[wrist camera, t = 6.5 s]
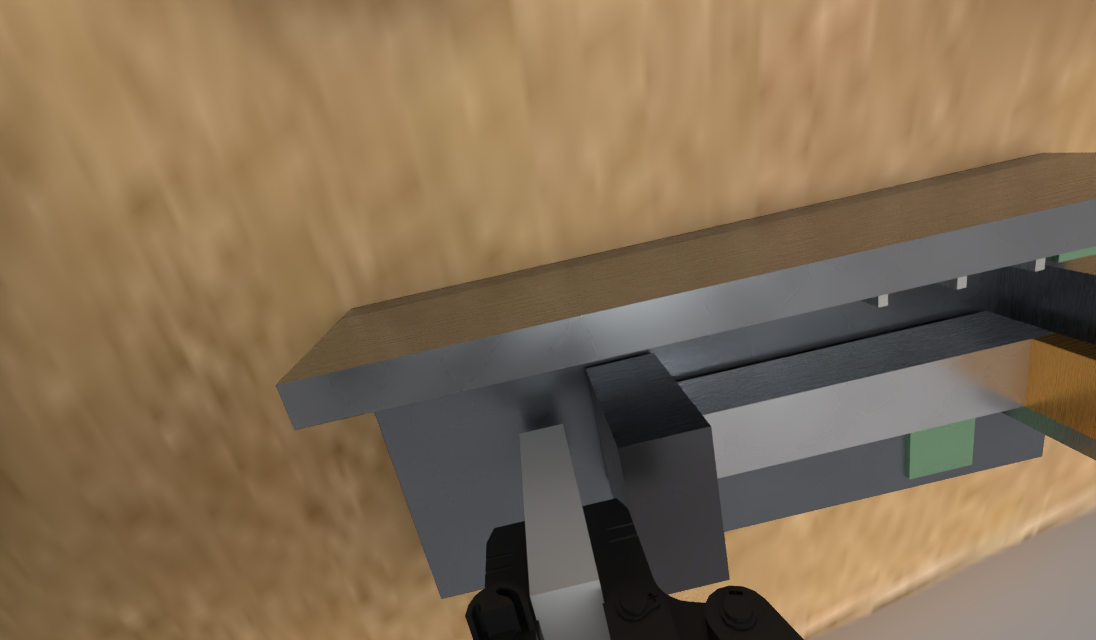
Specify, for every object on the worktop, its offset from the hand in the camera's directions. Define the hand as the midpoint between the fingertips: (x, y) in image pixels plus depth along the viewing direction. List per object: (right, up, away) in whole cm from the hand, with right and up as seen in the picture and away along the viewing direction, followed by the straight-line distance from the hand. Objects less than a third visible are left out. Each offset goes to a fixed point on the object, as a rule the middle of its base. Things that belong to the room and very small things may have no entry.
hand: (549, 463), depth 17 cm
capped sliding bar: (+9, +2, +1) cm, 9 cm away
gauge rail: (+7, +2, +3) cm, 7 cm away
